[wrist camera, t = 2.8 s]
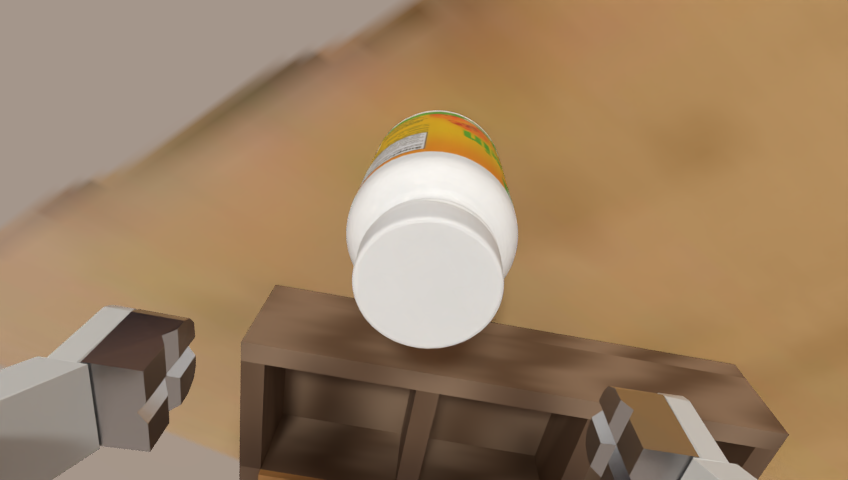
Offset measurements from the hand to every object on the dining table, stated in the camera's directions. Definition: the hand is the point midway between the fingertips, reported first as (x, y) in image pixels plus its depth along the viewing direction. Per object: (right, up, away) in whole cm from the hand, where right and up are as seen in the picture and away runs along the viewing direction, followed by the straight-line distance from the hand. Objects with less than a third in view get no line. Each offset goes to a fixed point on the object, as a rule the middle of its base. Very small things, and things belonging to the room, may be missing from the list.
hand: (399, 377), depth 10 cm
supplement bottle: (+1, +6, +12) cm, 13 cm away
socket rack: (+4, -5, +17) cm, 18 cm away
